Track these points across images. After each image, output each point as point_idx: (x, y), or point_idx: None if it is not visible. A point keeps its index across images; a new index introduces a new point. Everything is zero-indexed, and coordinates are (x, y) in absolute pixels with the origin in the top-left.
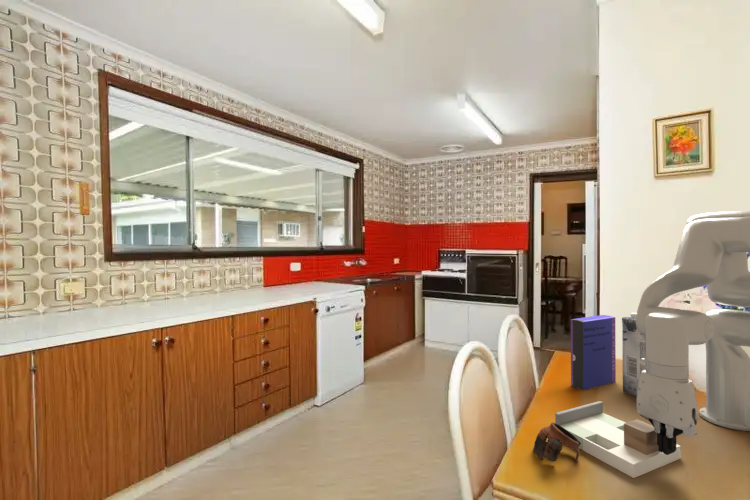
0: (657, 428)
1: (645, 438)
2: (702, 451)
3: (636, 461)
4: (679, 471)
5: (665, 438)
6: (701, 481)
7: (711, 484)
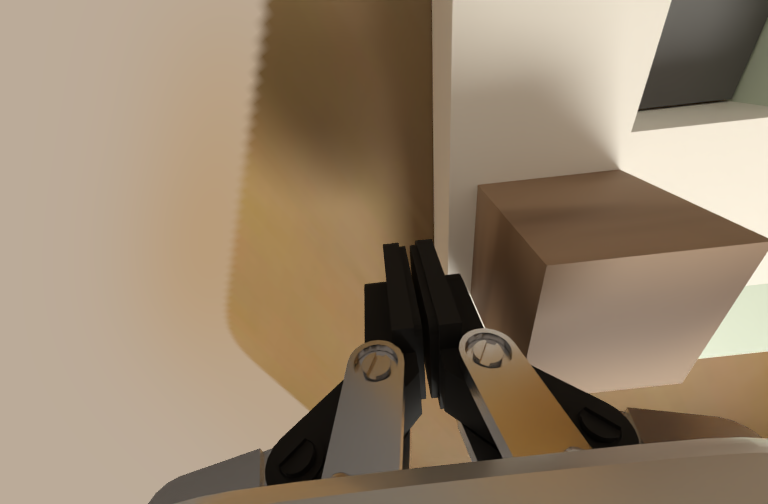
0: (495, 369)
1: (529, 234)
2: (429, 417)
3: (466, 27)
4: (381, 270)
5: (397, 318)
6: (307, 281)
7: (283, 294)
